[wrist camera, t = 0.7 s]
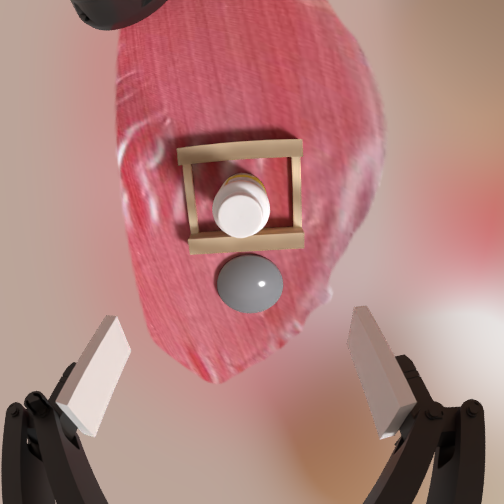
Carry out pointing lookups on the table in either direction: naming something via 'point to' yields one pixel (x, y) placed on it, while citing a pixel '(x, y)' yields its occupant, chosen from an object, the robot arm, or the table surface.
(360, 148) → the table surface
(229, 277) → the coaster
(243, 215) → the supplement bottle
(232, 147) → the open wooden frame
